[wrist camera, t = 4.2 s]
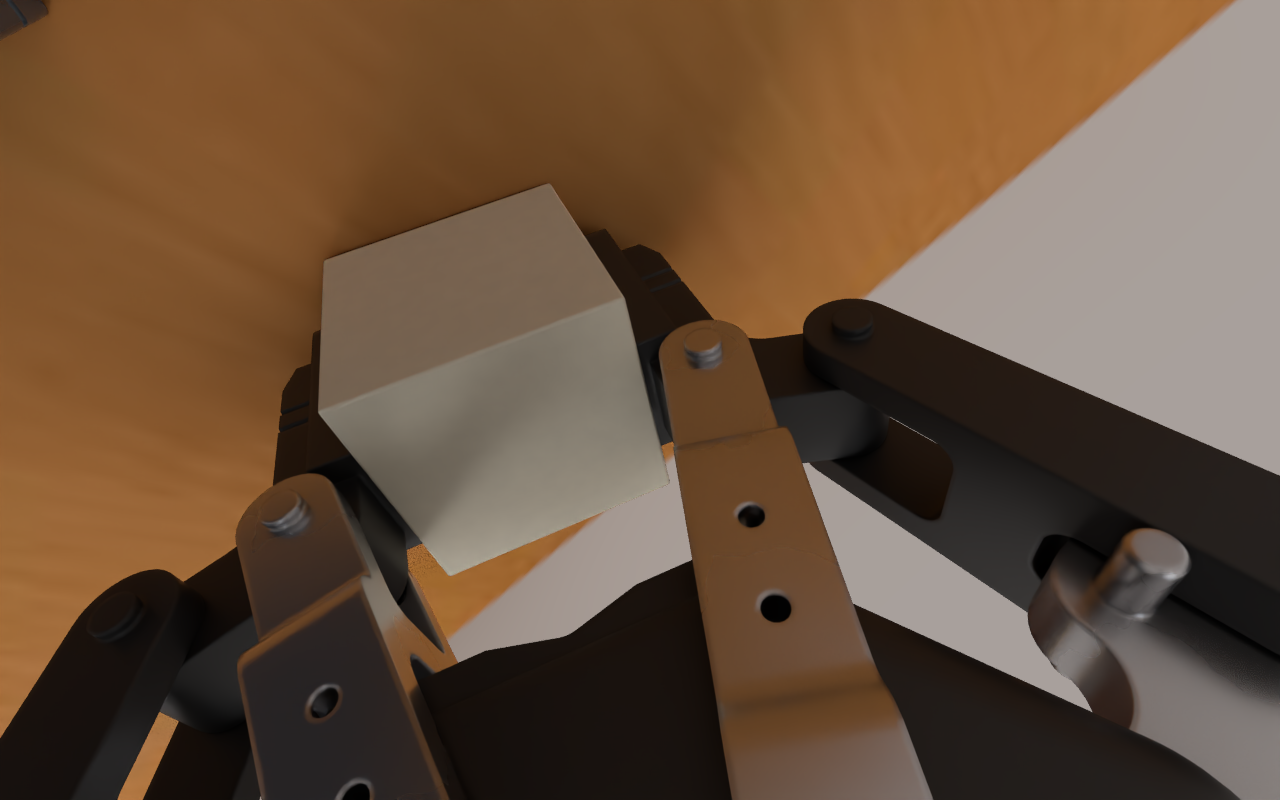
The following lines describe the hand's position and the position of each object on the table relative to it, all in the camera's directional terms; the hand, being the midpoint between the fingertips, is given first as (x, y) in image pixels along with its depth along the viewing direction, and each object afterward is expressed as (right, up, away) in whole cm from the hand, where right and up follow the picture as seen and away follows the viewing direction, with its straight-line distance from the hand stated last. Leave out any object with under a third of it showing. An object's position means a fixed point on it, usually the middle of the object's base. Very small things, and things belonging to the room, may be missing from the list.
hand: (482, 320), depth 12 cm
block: (0, 0, 0) cm, 0 cm away
